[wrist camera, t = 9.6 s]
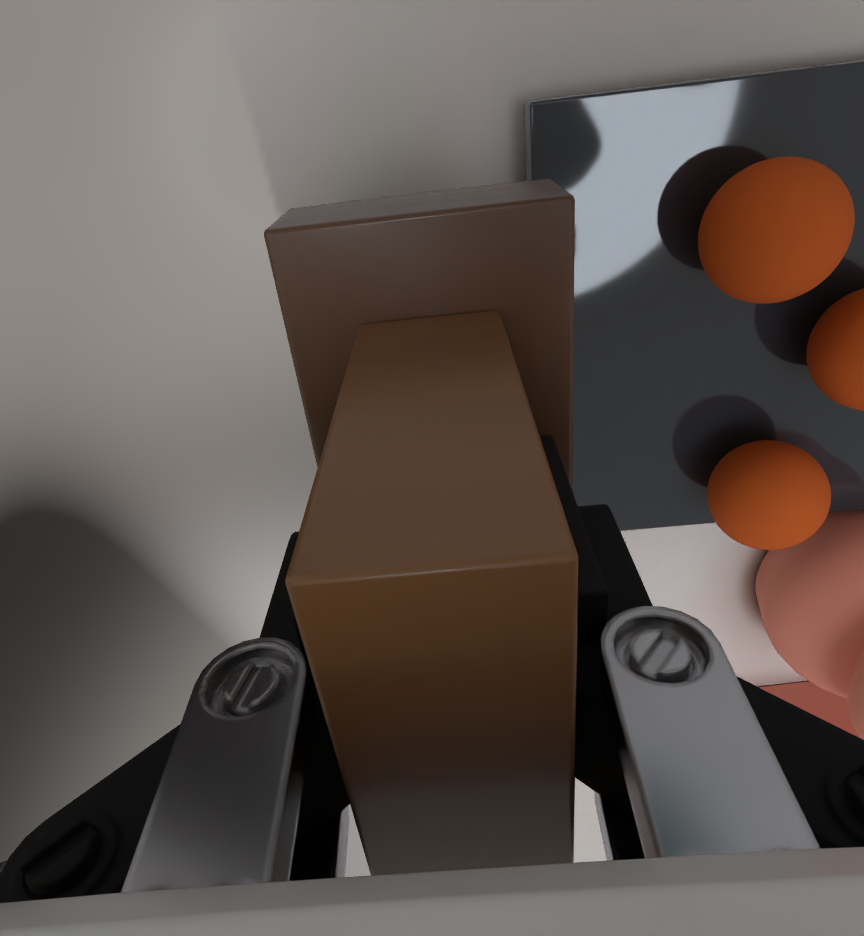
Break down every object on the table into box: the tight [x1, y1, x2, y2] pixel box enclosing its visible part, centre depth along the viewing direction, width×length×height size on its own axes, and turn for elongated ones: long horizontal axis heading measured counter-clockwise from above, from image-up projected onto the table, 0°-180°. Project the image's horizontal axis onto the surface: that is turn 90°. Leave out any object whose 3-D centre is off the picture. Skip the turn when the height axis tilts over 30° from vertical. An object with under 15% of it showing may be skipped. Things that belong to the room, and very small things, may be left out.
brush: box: [264, 179, 578, 876], centre depth 11 cm, size 10×4×10 cm, turn 6°
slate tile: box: [524, 60, 864, 531], centre depth 17 cm, size 12×12×1 cm
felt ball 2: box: [707, 440, 831, 550], centre depth 17 cm, size 3×3×3 cm
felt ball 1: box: [698, 156, 855, 304], centre depth 14 cm, size 3×3×3 cm
